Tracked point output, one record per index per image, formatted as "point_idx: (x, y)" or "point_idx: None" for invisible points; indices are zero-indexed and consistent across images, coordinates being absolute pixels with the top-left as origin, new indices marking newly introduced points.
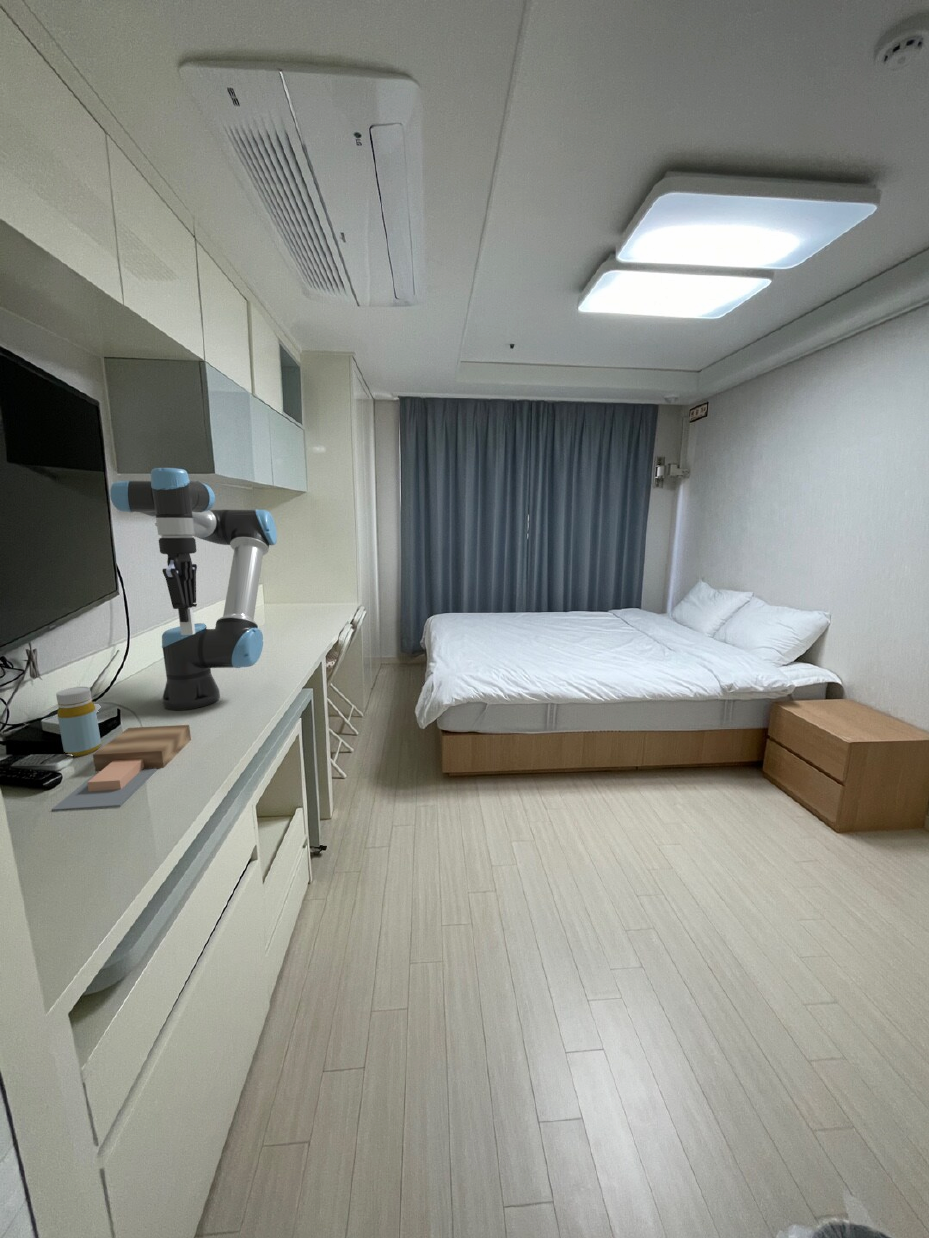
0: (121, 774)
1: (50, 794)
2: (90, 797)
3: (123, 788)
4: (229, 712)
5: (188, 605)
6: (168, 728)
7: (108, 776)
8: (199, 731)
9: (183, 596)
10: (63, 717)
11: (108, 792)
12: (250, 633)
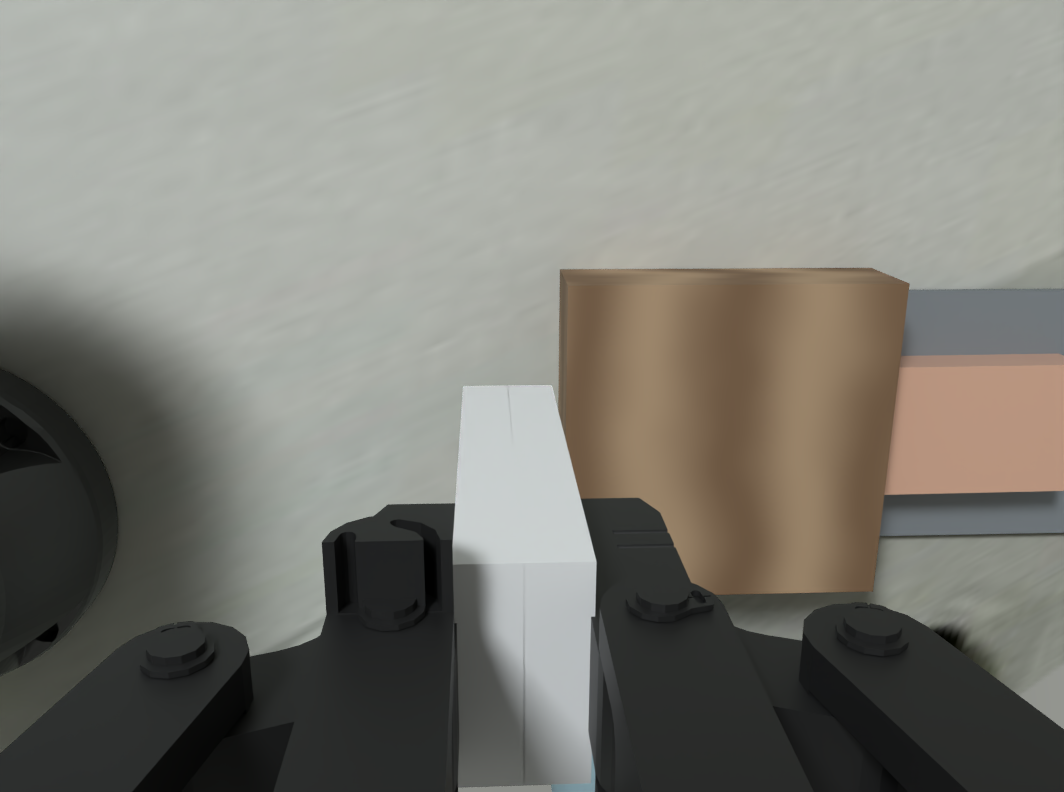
0: (1028, 385)
1: (1001, 608)
2: None
3: (1052, 347)
4: (150, 193)
5: (665, 600)
6: (606, 383)
7: (1033, 431)
8: (446, 268)
9: (974, 783)
10: None
11: None
12: None
